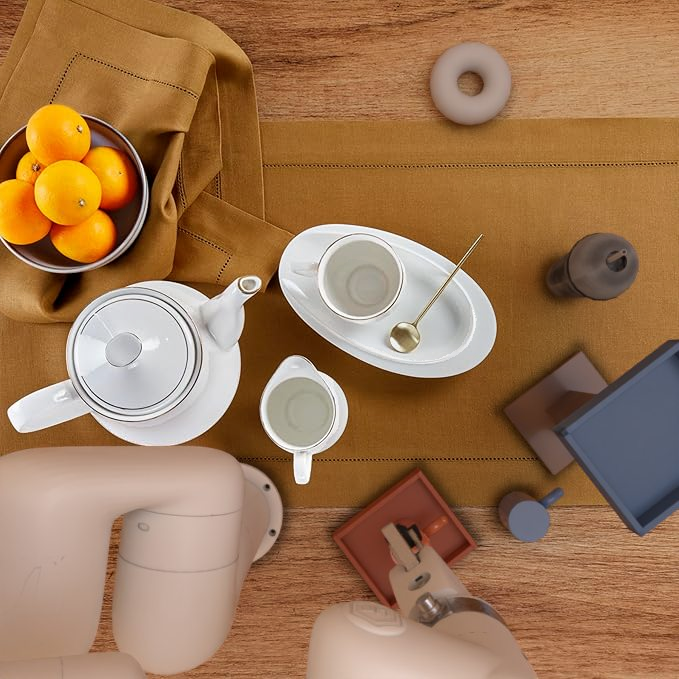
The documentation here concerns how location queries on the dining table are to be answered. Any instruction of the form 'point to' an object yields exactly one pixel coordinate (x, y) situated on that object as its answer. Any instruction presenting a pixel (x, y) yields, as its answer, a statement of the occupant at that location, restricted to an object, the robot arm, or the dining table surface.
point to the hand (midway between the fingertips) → (433, 574)
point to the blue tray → (632, 440)
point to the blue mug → (527, 514)
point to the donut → (487, 67)
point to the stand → (554, 408)
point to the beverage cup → (595, 268)
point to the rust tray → (398, 502)
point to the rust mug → (422, 530)
